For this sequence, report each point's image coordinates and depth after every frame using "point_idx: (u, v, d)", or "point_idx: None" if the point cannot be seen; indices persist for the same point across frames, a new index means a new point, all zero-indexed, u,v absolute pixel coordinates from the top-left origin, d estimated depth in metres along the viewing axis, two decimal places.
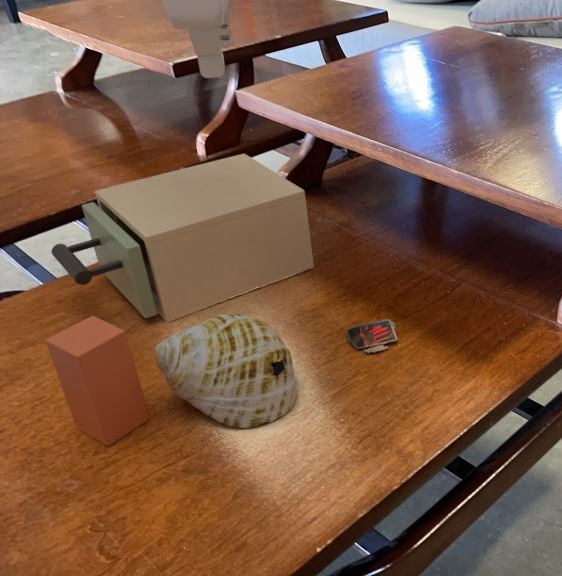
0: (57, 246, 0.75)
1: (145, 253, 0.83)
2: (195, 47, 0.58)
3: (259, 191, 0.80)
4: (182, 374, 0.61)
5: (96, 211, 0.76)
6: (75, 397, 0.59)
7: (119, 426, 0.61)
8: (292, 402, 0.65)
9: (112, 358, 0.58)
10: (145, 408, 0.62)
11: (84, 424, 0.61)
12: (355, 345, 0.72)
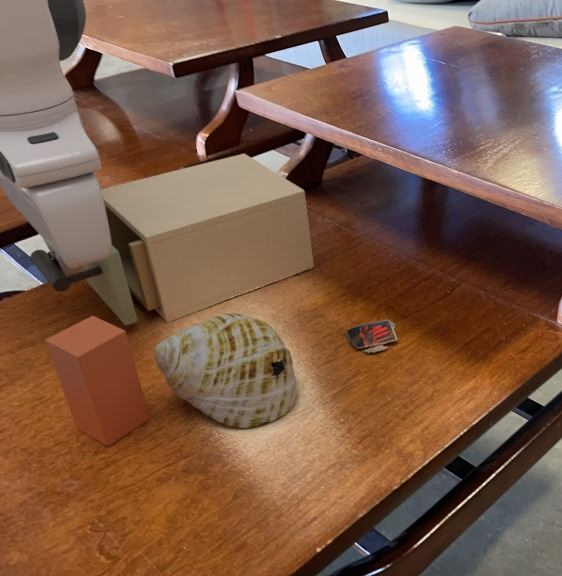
0: (35, 252, 0.73)
1: (127, 258, 0.82)
2: (59, 256, 0.70)
3: (259, 191, 0.80)
4: (182, 374, 0.61)
5: None
6: (75, 397, 0.59)
7: (119, 426, 0.61)
8: (292, 402, 0.65)
9: (112, 358, 0.58)
10: (145, 408, 0.62)
11: (84, 424, 0.61)
12: (355, 346, 0.72)
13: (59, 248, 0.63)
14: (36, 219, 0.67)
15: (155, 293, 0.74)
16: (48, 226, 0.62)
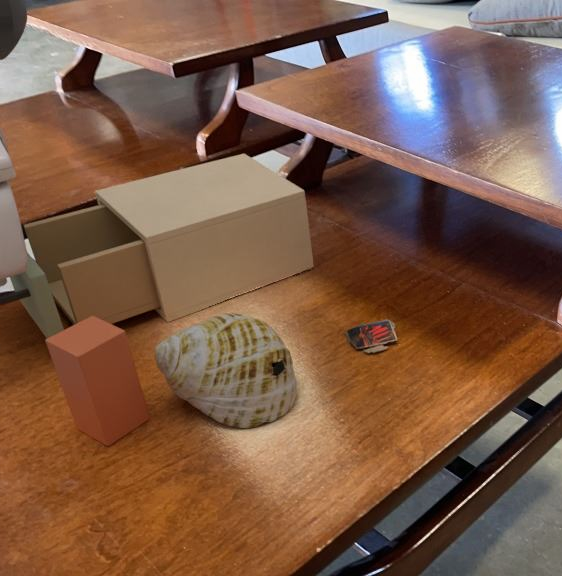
0: None
1: None
2: None
3: (259, 191, 0.80)
4: (182, 374, 0.61)
5: None
6: (75, 397, 0.59)
7: (119, 426, 0.61)
8: (292, 402, 0.65)
9: (112, 358, 0.58)
10: (145, 408, 0.62)
11: (84, 424, 0.61)
12: (355, 346, 0.72)
13: None
14: None
15: (88, 316, 0.71)
16: None
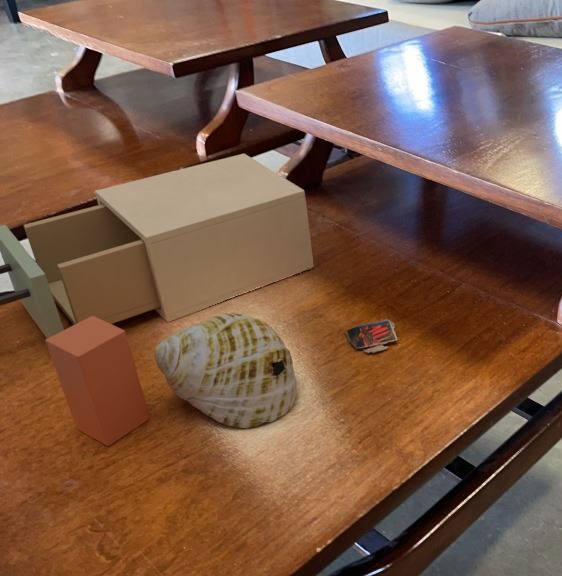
0: None
1: None
2: None
3: (259, 191, 0.80)
4: (182, 374, 0.61)
5: (6, 235, 0.71)
6: (75, 397, 0.59)
7: (119, 426, 0.61)
8: (292, 402, 0.65)
9: (112, 358, 0.58)
10: (145, 408, 0.62)
11: (84, 424, 0.61)
12: (355, 346, 0.72)
13: None
14: None
15: (88, 316, 0.71)
16: None
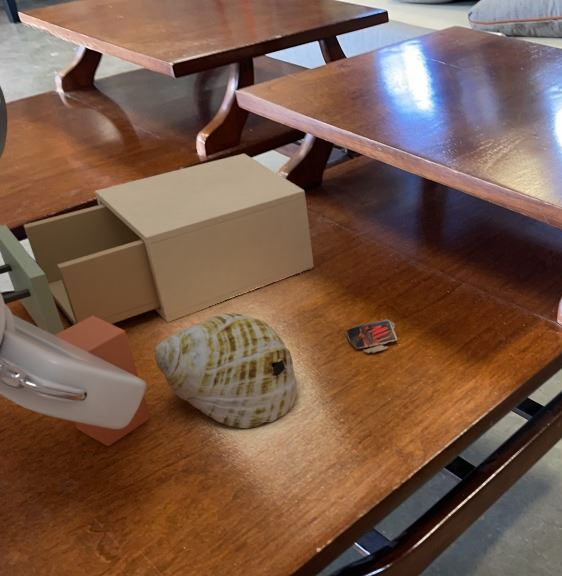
0: None
1: None
2: None
3: (259, 191, 0.80)
4: (182, 374, 0.61)
5: (6, 235, 0.71)
6: None
7: None
8: (292, 402, 0.65)
9: (112, 358, 0.58)
10: (145, 408, 0.62)
11: (84, 424, 0.61)
12: (354, 346, 0.72)
13: None
14: (17, 321, 0.56)
15: (88, 316, 0.71)
16: None
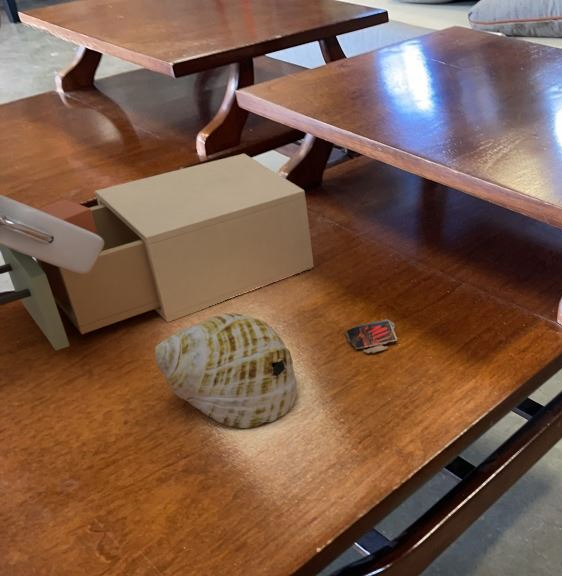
0: None
1: None
2: None
3: (259, 191, 0.80)
4: (182, 374, 0.61)
5: None
6: (49, 264, 0.72)
7: None
8: (292, 402, 0.65)
9: None
10: None
11: (57, 290, 0.73)
12: (354, 346, 0.72)
13: None
14: None
15: (89, 316, 0.71)
16: None
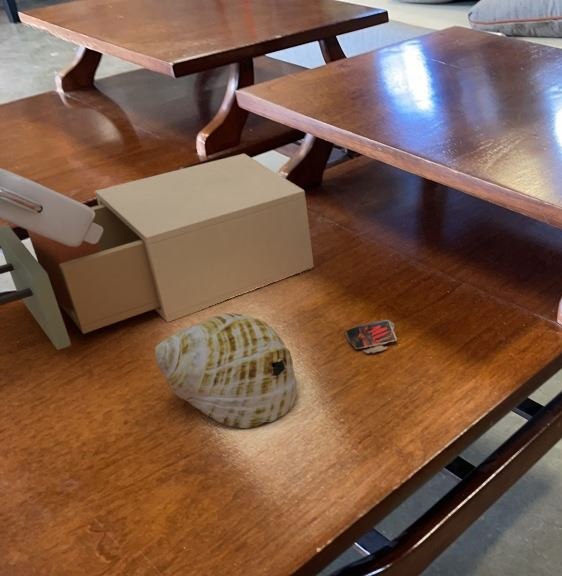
0: None
1: None
2: None
3: (259, 191, 0.80)
4: (182, 374, 0.61)
5: (8, 235, 0.72)
6: (48, 268, 0.72)
7: None
8: (292, 402, 0.65)
9: None
10: None
11: (56, 293, 0.73)
12: (354, 346, 0.72)
13: None
14: None
15: (90, 315, 0.71)
16: None
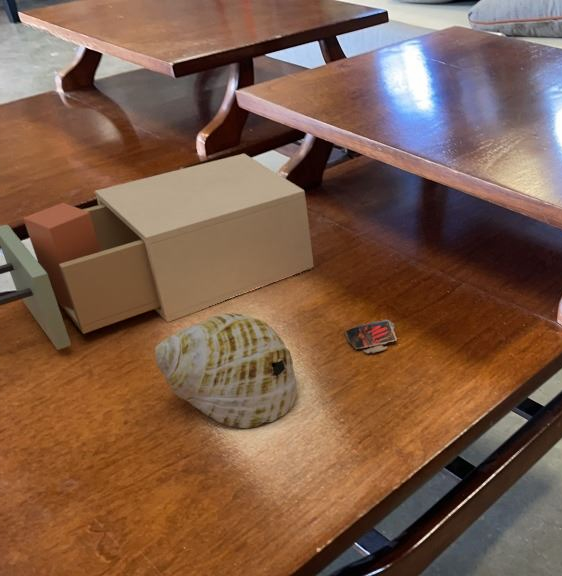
0: None
1: None
2: None
3: (259, 191, 0.80)
4: (182, 374, 0.61)
5: (8, 235, 0.72)
6: (48, 268, 0.72)
7: None
8: (292, 402, 0.65)
9: (78, 234, 0.71)
10: None
11: (56, 293, 0.73)
12: (354, 346, 0.72)
13: None
14: None
15: (90, 315, 0.71)
16: None
